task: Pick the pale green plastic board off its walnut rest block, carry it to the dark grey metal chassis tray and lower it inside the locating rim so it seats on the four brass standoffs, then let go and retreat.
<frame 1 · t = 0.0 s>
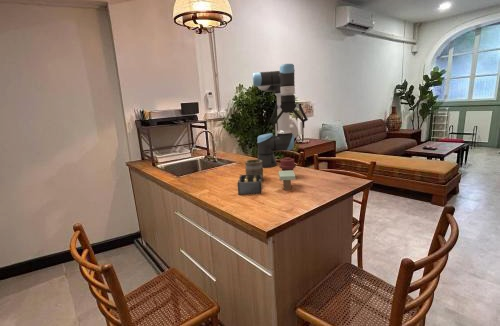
hand: (288, 135, 148), 28 cm above the counter, fingers open, 13 cm apart
chassis: (250, 189, 149), on the counter
mug: (255, 179, 168), on the counter
board: (286, 176, 147), point 6 cm above the counter, touching rest block
rest block: (287, 187, 148), on the counter
mechanical component: (287, 177, 168), on the counter
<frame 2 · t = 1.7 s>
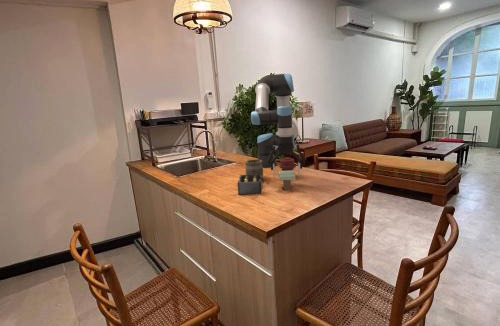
hand: (286, 175, 147), 7 cm above the counter, fingers open, 13 cm apart
nothing on the counter moved.
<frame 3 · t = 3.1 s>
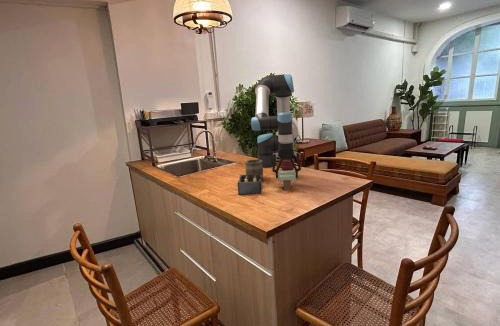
hand: (286, 183, 148), 2 cm above the counter, fingers closed on board, 8 cm apart
board: (286, 176, 147), point 6 cm above the counter, touching gripper, rest block
everything else where it was.
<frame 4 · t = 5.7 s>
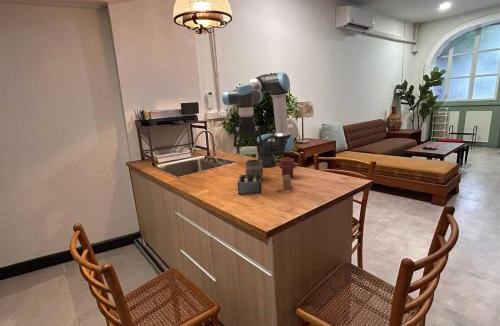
hand: (249, 159, 145), 17 cm above the counter, fingers closed on board, 8 cm apart
board: (248, 152, 144), point 21 cm above the counter, touching gripper
everything else where it was.
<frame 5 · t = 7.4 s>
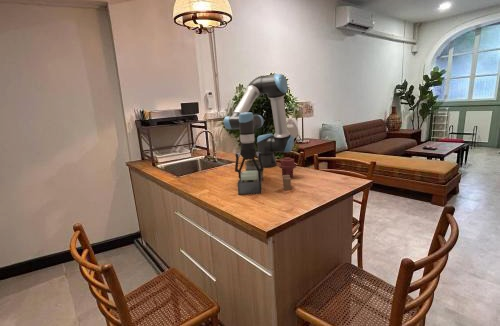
hand: (250, 183, 148), 4 cm above the counter, fingers closed on board, 8 cm apart
board: (249, 176, 147), point 7 cm above the counter, touching gripper
everything else where it was.
when the fingers open (2 cm above the counter, at t = 8.4 s): board stays where it is, resting on chassis.
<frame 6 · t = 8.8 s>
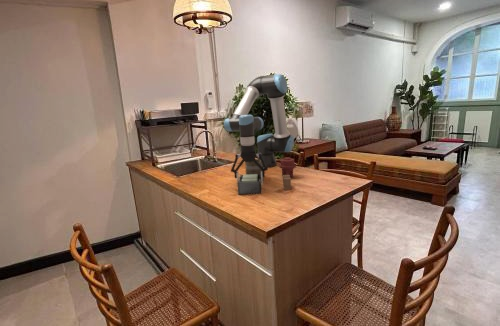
hand: (250, 183, 148), 4 cm above the counter, fingers open, 12 cm apart
board: (250, 180, 148), point 5 cm above the counter, touching chassis
everything else where it was.
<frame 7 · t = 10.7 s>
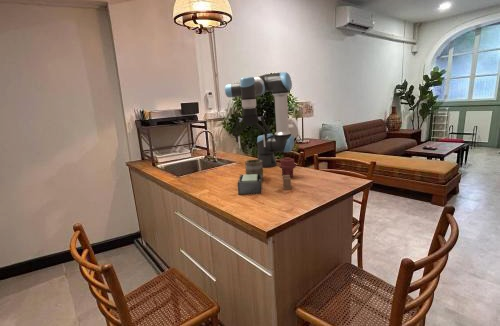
hand: (252, 147, 148), 23 cm above the counter, fingers open, 13 cm apart
nothing on the counter moved.
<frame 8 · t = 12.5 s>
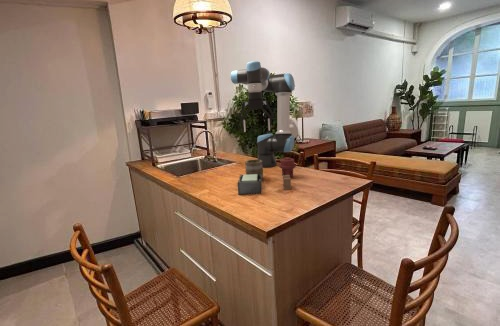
hand: (257, 131, 152), 31 cm above the counter, fingers open, 13 cm apart
nothing on the counter moved.
at the end: board 0.0 cm off-centre on the chassis, point 5.0 cm above the chassis's base; board tilted 0°; the gripper is holding nothing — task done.
